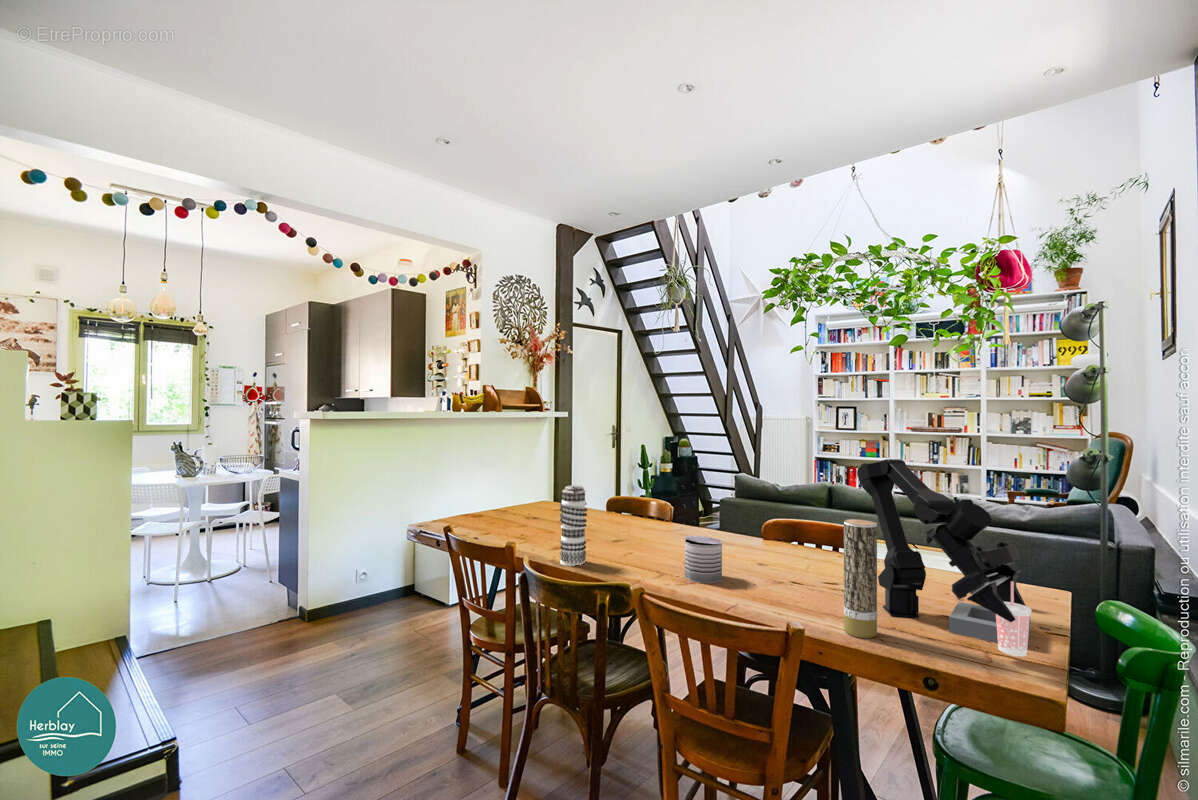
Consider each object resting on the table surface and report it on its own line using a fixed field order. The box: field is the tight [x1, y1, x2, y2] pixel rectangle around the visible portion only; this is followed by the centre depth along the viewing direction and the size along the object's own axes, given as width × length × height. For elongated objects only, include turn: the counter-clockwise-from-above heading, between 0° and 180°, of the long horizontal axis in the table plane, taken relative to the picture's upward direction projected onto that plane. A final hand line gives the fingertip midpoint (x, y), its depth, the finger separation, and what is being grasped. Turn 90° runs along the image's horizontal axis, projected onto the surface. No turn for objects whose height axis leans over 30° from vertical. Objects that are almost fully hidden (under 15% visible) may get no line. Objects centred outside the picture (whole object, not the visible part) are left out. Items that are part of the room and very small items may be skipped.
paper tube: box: [843, 518, 878, 639], centre depth 126 cm, size 7×7×25 cm
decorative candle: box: [559, 484, 588, 567], centre depth 184 cm, size 9×9×25 cm
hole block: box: [948, 601, 1031, 644], centre depth 128 cm, size 14×14×4 cm
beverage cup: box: [996, 581, 1032, 657], centre depth 112 cm, size 6×6×14 cm
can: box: [683, 535, 724, 584], centre depth 168 cm, size 11×11×12 cm
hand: (1020, 617), depth 111 cm, fingers closed on beverage cup, 6 cm apart
